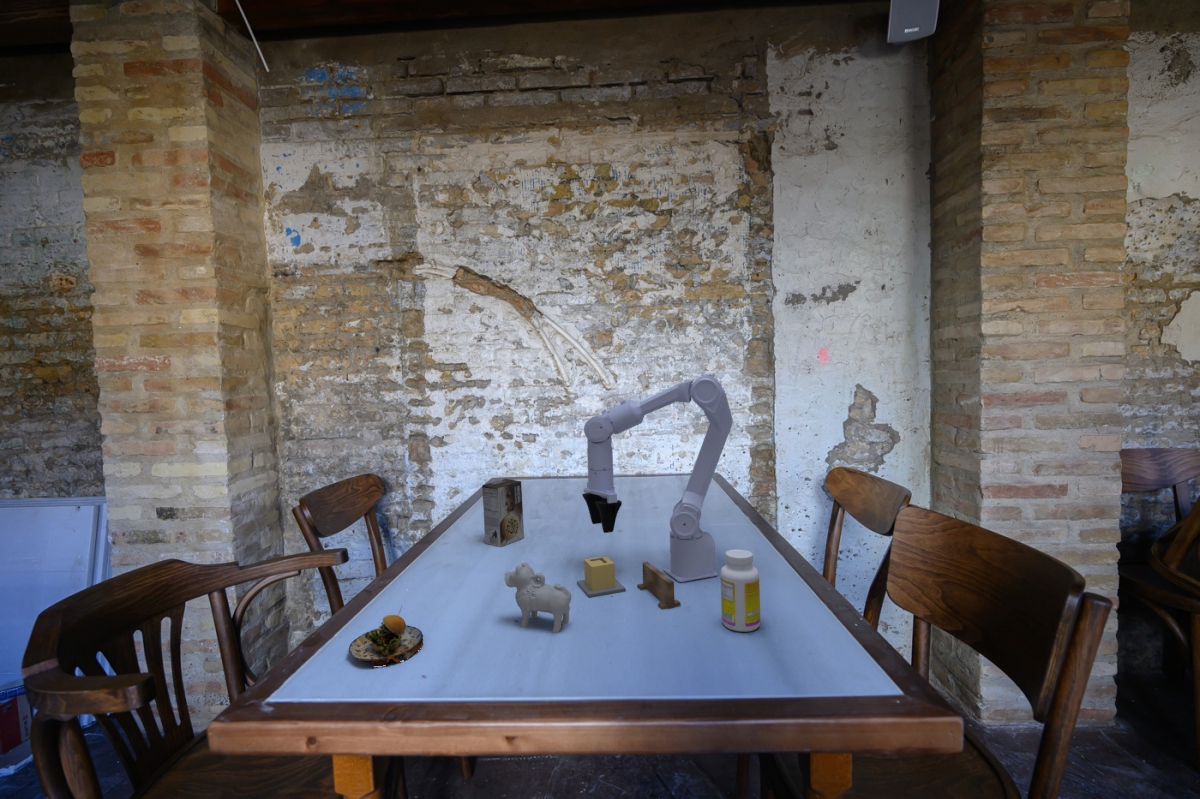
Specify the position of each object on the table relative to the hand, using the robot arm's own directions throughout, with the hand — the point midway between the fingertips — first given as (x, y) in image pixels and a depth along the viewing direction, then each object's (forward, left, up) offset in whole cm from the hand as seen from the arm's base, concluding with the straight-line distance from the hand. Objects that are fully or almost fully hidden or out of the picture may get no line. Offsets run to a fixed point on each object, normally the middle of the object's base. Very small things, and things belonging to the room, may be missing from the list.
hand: (602, 527), depth 127 cm
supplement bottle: (-13, +35, -10) cm, 39 cm away
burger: (+46, +19, -10) cm, 51 cm away
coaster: (+4, +9, -10) cm, 14 cm away
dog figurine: (+20, +20, -10) cm, 30 cm away
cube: (+4, +9, -9) cm, 14 cm away
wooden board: (-5, +18, -10) cm, 21 cm away
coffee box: (+17, -32, -10) cm, 38 cm away
